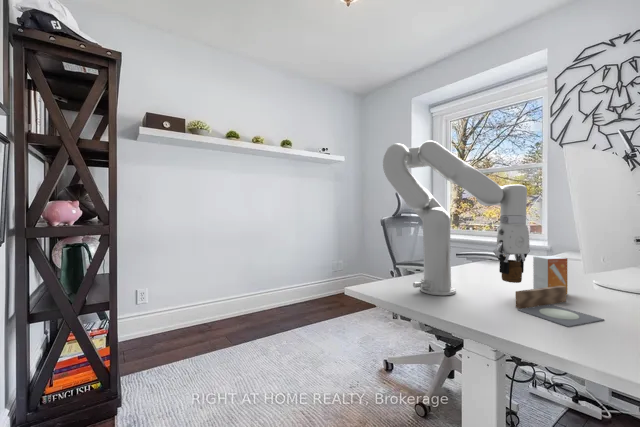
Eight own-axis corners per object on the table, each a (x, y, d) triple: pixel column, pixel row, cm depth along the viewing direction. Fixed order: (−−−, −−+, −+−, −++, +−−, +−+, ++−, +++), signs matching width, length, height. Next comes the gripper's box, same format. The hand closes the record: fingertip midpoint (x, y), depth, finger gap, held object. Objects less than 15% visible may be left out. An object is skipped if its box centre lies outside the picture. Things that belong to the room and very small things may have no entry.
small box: (548, 295, 105) (547, 258, 104) (532, 291, 111) (532, 256, 111) (568, 294, 106) (568, 257, 106) (552, 290, 112) (551, 255, 112)
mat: (568, 327, 77) (568, 325, 77) (517, 310, 90) (517, 308, 90) (604, 320, 81) (604, 318, 81) (550, 305, 94) (550, 303, 94)
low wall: (520, 308, 92) (520, 292, 92) (515, 307, 93) (515, 291, 93) (566, 301, 98) (566, 286, 98) (561, 300, 99) (561, 285, 99)
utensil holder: (523, 284, 99) (524, 248, 99) (501, 281, 102) (502, 246, 102) (520, 280, 105) (521, 246, 105) (499, 278, 107) (500, 244, 107)
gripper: (503, 221, 97) (501, 276, 97) (542, 221, 102) (540, 273, 102) (484, 220, 104) (482, 271, 104) (521, 220, 109) (519, 269, 110)
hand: (511, 272), depth 103 cm, fingers closed on utensil holder, 5 cm apart
